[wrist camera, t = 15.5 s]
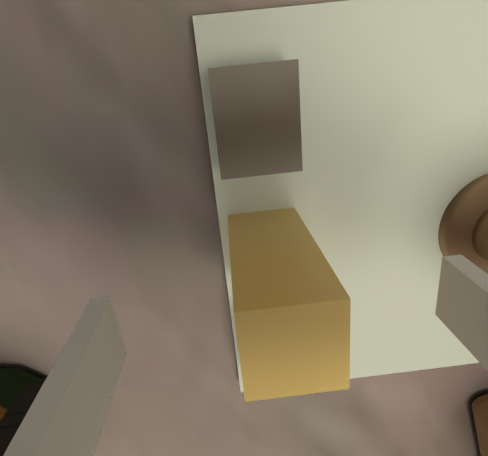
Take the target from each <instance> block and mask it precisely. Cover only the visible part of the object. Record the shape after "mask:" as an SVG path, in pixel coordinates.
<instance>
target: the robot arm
mask: <svg viewBox="0 0 488 456" xmlns="http://www.w3.org/2000/svg"><path fill="white" fill-rule="evenodd" d="M435 315H436V316H437V317H438V318H439V319H440V320H441V321H442V322H443V323H444V325H445V326H446V327H447V328H448V329H449V330H450V331H451V332H452V333H453V334H454V335H455V336H456V338H457V339H458V340H459V341H460V342H461V343H462V344H463V345H464V346H465V347H466V348H467V349H468V351H469V352H470V353H471V354H472V355H473V356H474V357H475V358H476V359H477V360H478V361H479V362H480V364H481V365H482V366H483V367H484V368H485V369H486V370H487V371H488V274H487V273H486V272H485V271H483V270H482V269H480V268H479V267H478V266H476V265H475V264H474V263H472V262H471V261H469V260H468V259H467V258H465V257H464V256H463V255H453V256H444V257H442V263H441V271H440V279H439V287H438V295H437V302H436V310H435ZM125 354H126V351H125V347H124V343H123V340H122V336H121V333H120V329H119V325H118V322H117V318H116V314H115V311H114V307H113V304H112V300H111V297H102V298H94V299H90V301H89V303H88V304H87V306H86V308H85V310H84V312H83V313H82V315H81V317H80V319H79V321H78V322H77V324H76V326H75V328H74V330H73V331H72V333H71V335H70V337H69V339H68V340H67V342H66V344H65V346H64V347H63V349H62V351H61V353H60V355H59V356H58V358H57V360H56V362H55V364H54V365H53V367H52V369H51V371H50V373H49V374H48V376H47V378H46V380H45V382H44V383H36V384H29V385H28V386H27V387H26V388H25V389H24V390H23V391H22V392H21V393H20V394H18V395H17V396H16V397H15V398H14V400H13V401H12V403H11V404H10V406H9V408H8V409H7V411H6V412H5V414H4V417H3V418H2V419H1V420H0V456H93V454H94V451H95V448H96V445H97V442H98V438H99V435H100V432H101V429H102V426H103V423H104V420H105V417H106V414H107V410H108V407H109V404H110V401H111V398H112V395H113V392H114V389H115V386H116V382H117V379H118V376H119V373H120V370H121V367H122V364H123V361H124V358H125Z"/></svg>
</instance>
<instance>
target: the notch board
mask: <svg viewBox="0 0 488 456" xmlns="http://www.w3.org/2000/svg"><path fill="white" fill-rule="evenodd" d="M208 77H209V85H210V93H211V101H212V109H213V118H214V126H215V134H216V142H217V151H218V159H219V167H220V175H221V180H225V179H234V178H243V177H252V176H261V175H271V174H280V173H289V172H298V171H303V167H302V141H301V114H300V88H299V61H298V59H293V60H283V61H273V62H263V63H253V64H244V65H234V66H224V67H214V68H208Z"/></svg>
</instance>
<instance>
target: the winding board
mask: <svg viewBox="0 0 488 456" xmlns="http://www.w3.org/2000/svg"><path fill="white" fill-rule="evenodd" d="M192 18H193V26H194V34H195V42H196V49H197V57H198V65H199V72H200V80H201V88H202V96H203V103H204V111H205V119H206V126H207V134H208V142H209V150H210V157H211V165H212V173H213V181H214V188H215V196H216V204H217V211H218V219H219V227H220V235H221V242H222V250H223V258H224V265H225V273H226V281H227V289H228V296H229V304H230V312H231V319H232V327H233V335H234V343H235V350H236V358H237V366H238V374H239V381H240V389H241V392H244V390H243V382H242V374H241V366H240V358H239V350H238V342H237V335H236V327H235V319H234V309H233V294H232V279H231V264H230V249H229V234H228V219H227V215H231V214H240V213H249V212H258V211H267V210H276V209H284V208H293V207H295V209H296V211H297V212H298V214H299V216H300V217H301V219H302V220H303V222H304V224H305V225H306V227H307V229H308V230H309V232H310V233H311V235H312V237H313V238H314V240H315V242H316V243H317V245H318V246H319V248H320V250H321V251H322V253H323V255H324V256H325V258H326V259H327V261H328V263H329V264H330V266H331V268H332V269H333V271H334V272H335V274H336V276H337V277H338V279H339V281H340V282H341V284H342V285H343V287H344V289H345V290H346V292H347V294H348V295H349V297H350V299H351V310H350V379H351V378H359V377H367V376H375V375H383V374H391V373H400V372H408V371H416V370H424V369H432V368H440V367H448V366H456V365H464V364H472V363H480V362H479V361H478V360H477V359H476V358H475V357H474V356H473V355H472V354H471V353H470V352H469V351H468V349H467V348H466V347H465V346H464V345H463V344H462V343H461V342H460V341H459V340H458V339H457V338H456V336H455V335H454V334H453V333H452V332H451V331H450V330H449V329H448V328H447V327H446V326H445V325H444V323H443V322H442V321H441V320H440V319H439V318H438V317H437V316H436V315H435V310H436V302H437V295H438V287H439V279H440V271H441V263H442V257H443V255H442V253H441V250H440V247H439V241H438V231H439V225H440V222H441V218H442V216H443V214H444V211H445V209H446V208H447V206H448V204H449V203H450V202H451V200H452V199H453V198H454V196H455V195H456V194H457V193H458V192H459V191H460V190H461V189H462V188H464V187H465V186H466V185H467V184H469V183H470V182H472V181H473V180H475V179H477V178H479V177H481V176H483V175H485V174H488V0H349V1H338V2H328V3H318V4H308V5H298V6H288V7H278V8H267V9H257V10H247V11H237V12H227V13H217V14H207V15H196V16H192ZM293 59H298V61H299V88H300V114H301V141H302V167H303V171H298V172H289V173H280V174H271V175H261V176H252V177H243V178H234V179H225V180H221V175H220V167H219V159H218V151H217V142H216V134H215V126H214V118H213V109H212V101H211V93H210V85H209V77H208V68H214V67H224V66H234V65H244V64H253V63H263V62H273V61H283V60H293Z"/></svg>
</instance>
